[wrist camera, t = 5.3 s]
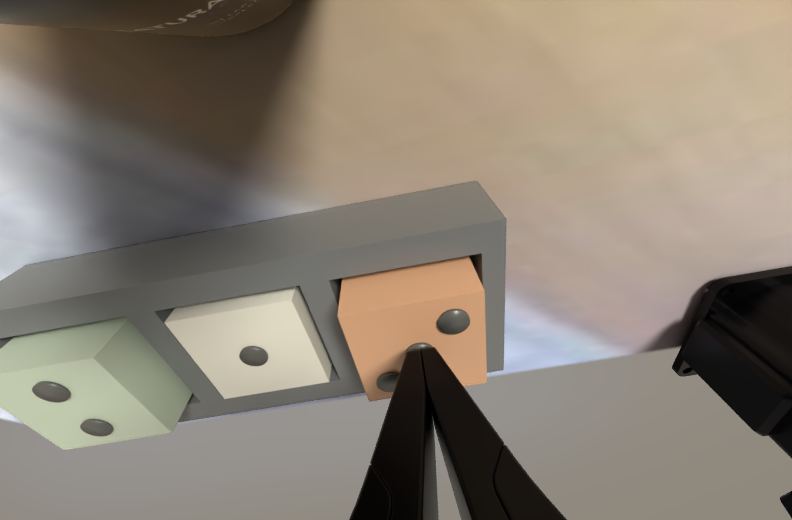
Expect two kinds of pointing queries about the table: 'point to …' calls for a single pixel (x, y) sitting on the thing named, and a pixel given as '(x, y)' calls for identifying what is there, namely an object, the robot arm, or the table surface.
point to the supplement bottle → (146, 15)
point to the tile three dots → (414, 321)
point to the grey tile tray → (267, 279)
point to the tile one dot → (254, 342)
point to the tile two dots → (90, 384)
